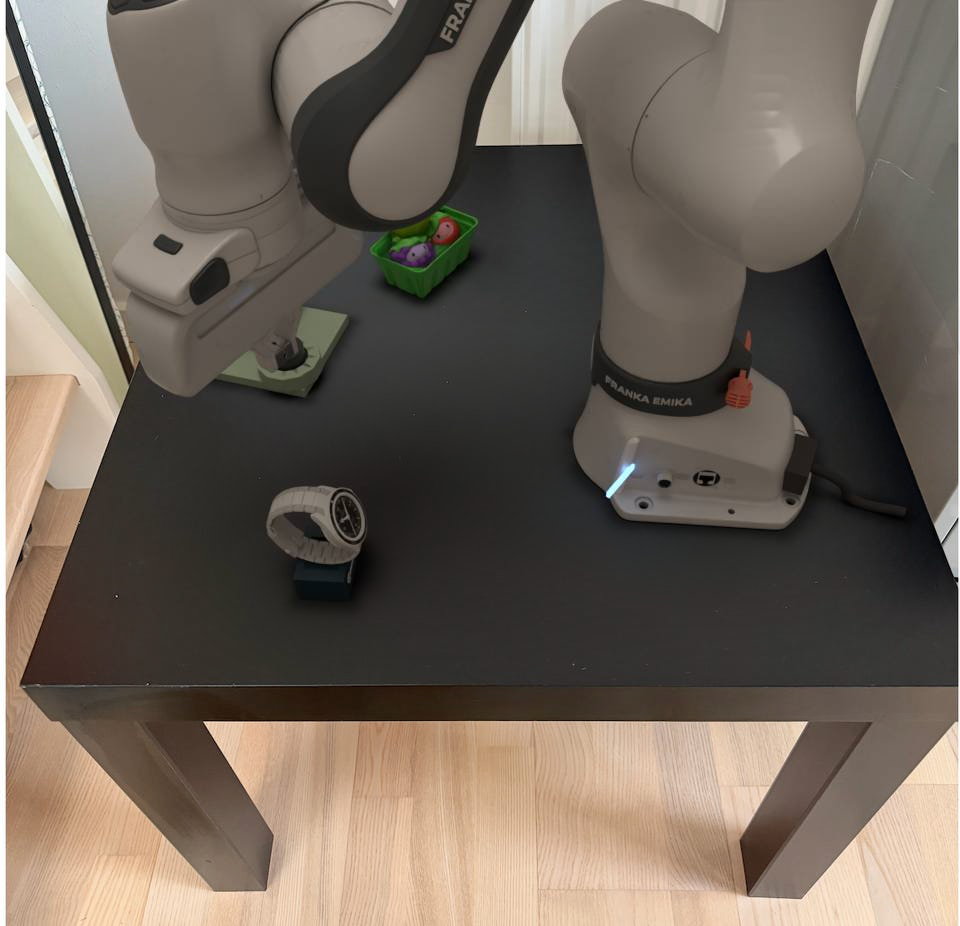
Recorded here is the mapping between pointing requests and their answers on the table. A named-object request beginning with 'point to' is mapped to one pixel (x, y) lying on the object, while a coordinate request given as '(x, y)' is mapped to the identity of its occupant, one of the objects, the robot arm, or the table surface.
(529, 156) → the table surface
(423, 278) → the fruit basket
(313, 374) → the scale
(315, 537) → the watch
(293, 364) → the knob
